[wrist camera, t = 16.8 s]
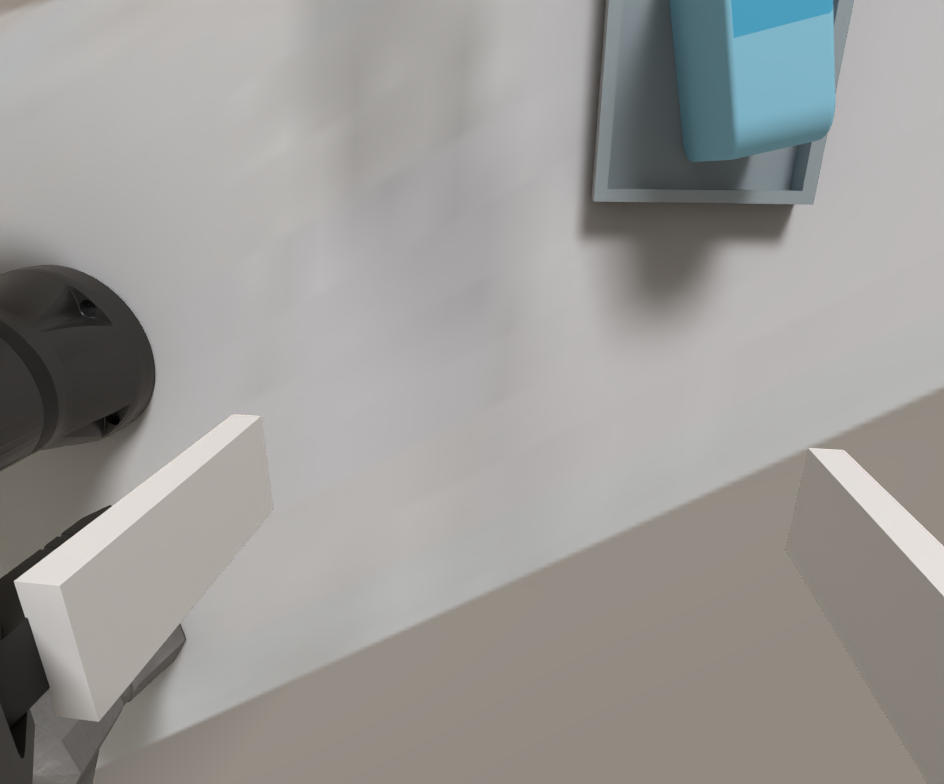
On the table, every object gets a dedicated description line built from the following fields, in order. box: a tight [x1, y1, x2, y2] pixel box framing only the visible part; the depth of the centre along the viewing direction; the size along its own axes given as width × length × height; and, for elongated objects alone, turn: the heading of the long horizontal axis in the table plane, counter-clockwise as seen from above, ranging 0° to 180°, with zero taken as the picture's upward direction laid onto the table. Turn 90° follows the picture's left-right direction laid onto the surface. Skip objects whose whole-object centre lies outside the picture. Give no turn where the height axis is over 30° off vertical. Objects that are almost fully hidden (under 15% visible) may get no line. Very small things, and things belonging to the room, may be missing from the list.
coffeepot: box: [30, 624, 185, 784], centre depth 53 cm, size 15×9×18 cm, turn 36°
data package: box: [669, 0, 835, 162], centre depth 32 cm, size 12×4×12 cm, turn 12°
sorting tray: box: [591, 0, 854, 205], centre depth 37 cm, size 14×18×3 cm
